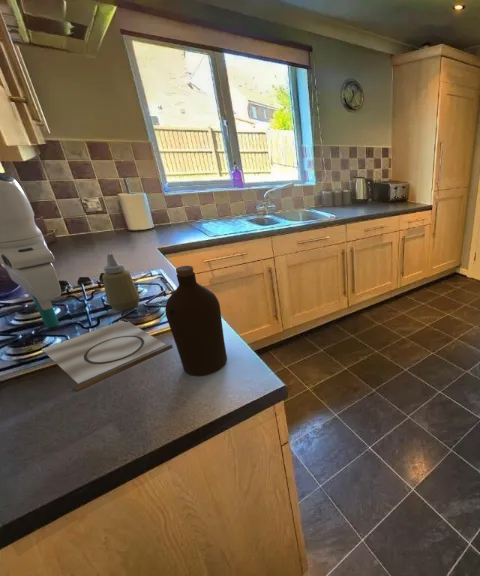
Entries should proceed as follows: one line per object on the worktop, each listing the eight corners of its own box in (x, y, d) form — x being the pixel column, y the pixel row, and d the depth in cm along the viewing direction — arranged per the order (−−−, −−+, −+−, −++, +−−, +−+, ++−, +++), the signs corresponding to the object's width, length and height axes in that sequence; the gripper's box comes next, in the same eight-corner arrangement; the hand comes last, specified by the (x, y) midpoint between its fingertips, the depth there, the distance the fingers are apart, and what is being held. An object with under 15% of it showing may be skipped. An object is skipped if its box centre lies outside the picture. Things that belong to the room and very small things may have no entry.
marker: (46, 329, 79) (25, 283, 74) (59, 325, 81) (39, 280, 76) (49, 333, 78) (29, 286, 73) (62, 328, 80) (43, 282, 75)
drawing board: (36, 353, 81) (34, 349, 80) (128, 320, 96) (127, 316, 96) (75, 392, 69) (73, 387, 69) (173, 347, 85) (172, 343, 85)
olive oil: (223, 376, 76) (203, 276, 66) (173, 380, 74) (144, 278, 64) (234, 349, 85) (218, 259, 75) (190, 352, 83) (167, 260, 73)
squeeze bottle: (136, 300, 107) (120, 248, 100) (147, 308, 103) (131, 253, 96) (106, 309, 101) (87, 254, 94) (116, 317, 97) (97, 260, 90)
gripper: (-16, 244, 73) (11, 299, 79) (13, 263, 64) (41, 324, 69) (23, 238, 78) (45, 290, 84) (55, 255, 69) (78, 313, 74)
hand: (44, 306), depth 77 cm, fingers closed on marker, 2 cm apart
